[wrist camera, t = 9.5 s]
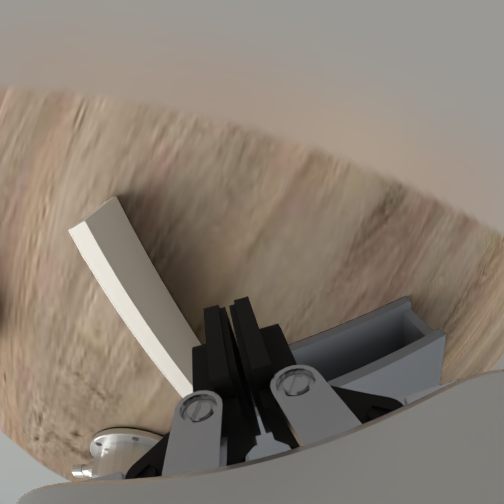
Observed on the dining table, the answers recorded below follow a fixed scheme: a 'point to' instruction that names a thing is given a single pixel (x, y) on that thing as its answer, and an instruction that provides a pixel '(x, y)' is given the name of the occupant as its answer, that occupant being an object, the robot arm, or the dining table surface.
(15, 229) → the dining table surface
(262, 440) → the cabinet
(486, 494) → the robot arm
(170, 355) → the door
